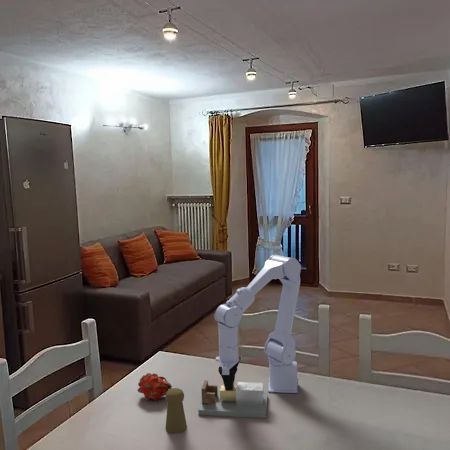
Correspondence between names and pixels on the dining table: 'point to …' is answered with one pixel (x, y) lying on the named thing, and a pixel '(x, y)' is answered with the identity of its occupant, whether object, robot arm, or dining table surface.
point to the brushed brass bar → (228, 394)
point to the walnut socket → (209, 393)
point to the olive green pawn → (175, 411)
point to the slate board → (233, 409)
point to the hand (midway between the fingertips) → (229, 386)
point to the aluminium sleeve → (249, 394)
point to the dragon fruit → (153, 386)
